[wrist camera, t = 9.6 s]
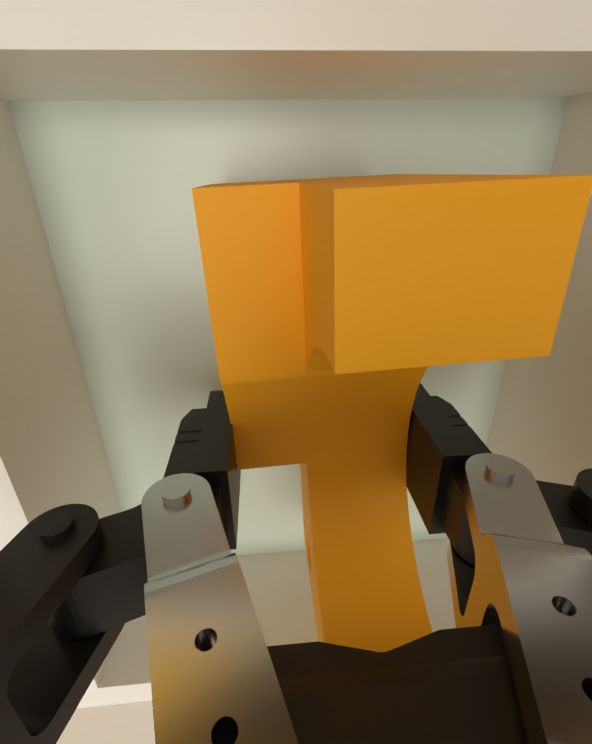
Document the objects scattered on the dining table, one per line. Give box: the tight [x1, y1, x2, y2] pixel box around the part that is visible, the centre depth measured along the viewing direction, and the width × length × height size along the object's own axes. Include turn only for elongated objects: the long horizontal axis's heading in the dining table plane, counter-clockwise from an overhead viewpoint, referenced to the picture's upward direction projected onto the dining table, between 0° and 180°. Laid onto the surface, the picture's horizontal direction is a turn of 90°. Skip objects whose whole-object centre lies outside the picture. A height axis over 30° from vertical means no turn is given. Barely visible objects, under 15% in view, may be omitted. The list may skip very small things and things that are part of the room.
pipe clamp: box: [192, 174, 592, 652], centre depth 9 cm, size 12×4×6 cm, turn 3°
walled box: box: [0, 0, 592, 708], centre depth 12 cm, size 16×18×6 cm
